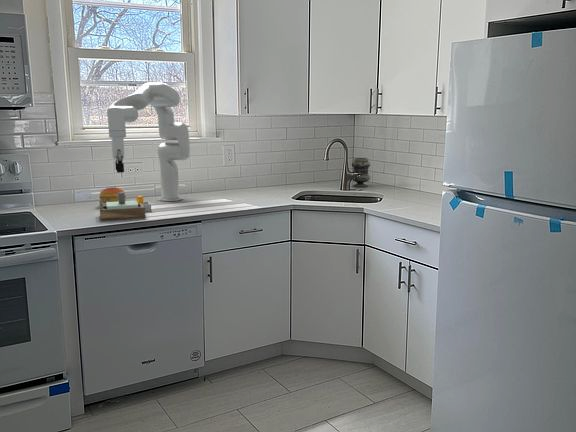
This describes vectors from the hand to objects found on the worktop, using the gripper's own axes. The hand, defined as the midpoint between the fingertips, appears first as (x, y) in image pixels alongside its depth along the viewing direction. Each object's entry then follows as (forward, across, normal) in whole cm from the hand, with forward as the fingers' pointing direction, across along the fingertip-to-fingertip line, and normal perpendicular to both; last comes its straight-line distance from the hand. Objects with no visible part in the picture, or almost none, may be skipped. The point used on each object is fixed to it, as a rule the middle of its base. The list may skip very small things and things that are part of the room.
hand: (119, 171), depth 264 cm
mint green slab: (+17, 0, 0) cm, 17 cm away
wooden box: (+22, 0, 0) cm, 22 cm away
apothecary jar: (+23, -48, +149) cm, 158 cm away
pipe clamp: (+22, -14, +6) cm, 27 cm away
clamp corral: (+22, -14, +6) cm, 27 cm away
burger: (+22, -30, -3) cm, 37 cm away
